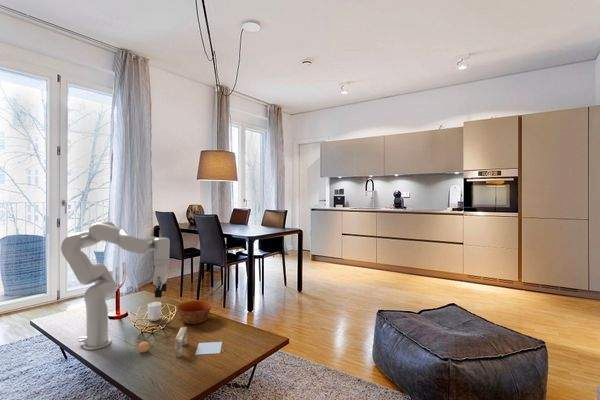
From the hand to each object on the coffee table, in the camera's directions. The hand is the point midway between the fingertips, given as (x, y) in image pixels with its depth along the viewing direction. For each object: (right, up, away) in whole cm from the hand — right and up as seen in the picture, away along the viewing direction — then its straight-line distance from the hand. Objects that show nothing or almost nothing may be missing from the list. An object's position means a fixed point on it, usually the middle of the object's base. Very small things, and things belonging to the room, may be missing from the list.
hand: (160, 294), depth 170 cm
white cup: (-18, -26, +33) cm, 46 cm away
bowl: (+7, -26, +32) cm, 42 cm away
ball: (-6, -25, -6) cm, 26 cm away
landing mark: (+26, -28, -1) cm, 38 cm away
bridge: (+12, -27, -3) cm, 30 cm away
